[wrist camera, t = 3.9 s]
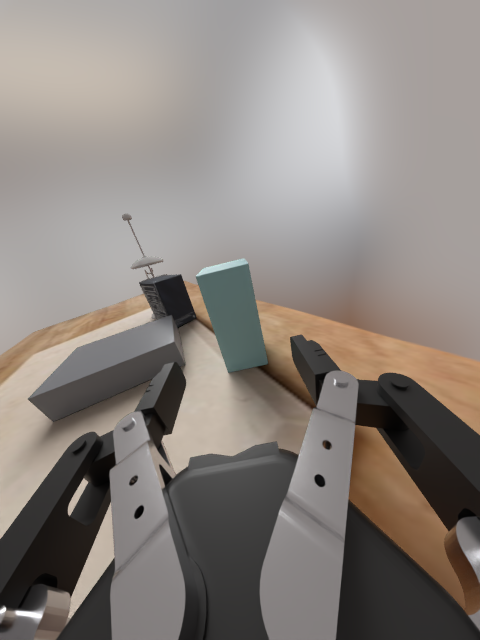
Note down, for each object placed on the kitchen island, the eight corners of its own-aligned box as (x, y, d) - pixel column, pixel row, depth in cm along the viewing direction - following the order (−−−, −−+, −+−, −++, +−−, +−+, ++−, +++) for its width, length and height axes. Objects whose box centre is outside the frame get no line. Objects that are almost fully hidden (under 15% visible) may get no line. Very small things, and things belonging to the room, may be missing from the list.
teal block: (228, 372, 21) (195, 276, 16) (228, 349, 25) (203, 268, 20) (268, 364, 21) (248, 263, 16) (261, 341, 25) (244, 258, 20)
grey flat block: (53, 421, 20) (27, 399, 18) (91, 365, 31) (77, 347, 29) (185, 364, 24) (174, 341, 23) (179, 332, 35) (171, 314, 33)
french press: (154, 322, 44) (97, 211, 33) (148, 312, 53) (103, 223, 43) (189, 307, 48) (149, 204, 37) (178, 301, 57) (144, 217, 47)
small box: (199, 317, 40) (182, 272, 35) (173, 331, 36) (151, 283, 32) (179, 311, 47) (163, 274, 43) (156, 322, 44) (137, 282, 39)
